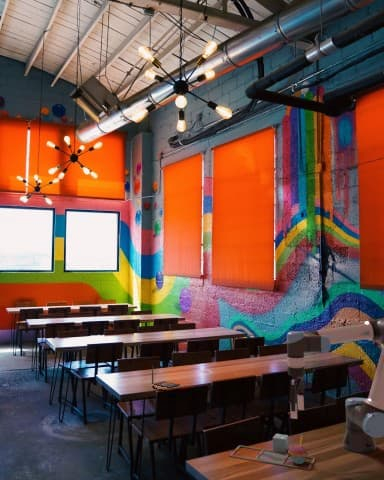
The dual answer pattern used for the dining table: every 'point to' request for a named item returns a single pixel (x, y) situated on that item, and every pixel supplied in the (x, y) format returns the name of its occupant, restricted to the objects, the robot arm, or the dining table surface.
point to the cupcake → (298, 453)
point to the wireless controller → (164, 382)
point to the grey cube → (280, 443)
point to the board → (272, 457)
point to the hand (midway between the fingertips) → (297, 413)
